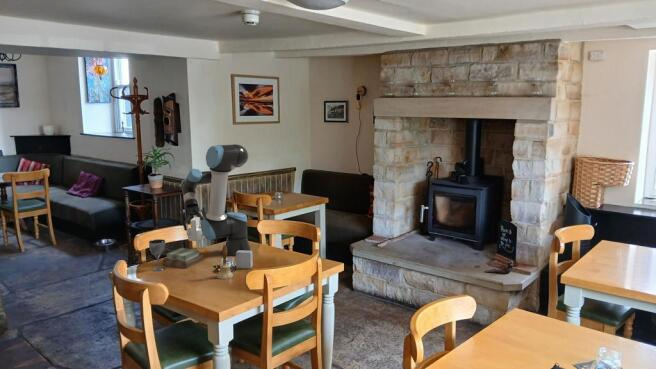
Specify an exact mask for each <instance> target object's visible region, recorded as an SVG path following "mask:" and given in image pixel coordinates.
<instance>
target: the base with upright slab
mask: <svg viewBox="0 0 656 369" xmlns="http://www.w3.org/2000/svg"><path fill="white" fill-rule="evenodd" d="M188 230H189V236H187V240H188V241H189V242H200V241H204V240H205V237H204V235H203V233H202V230H201V220H200V217H197V216H194V217H193V218H191V219H190V227H188Z"/></svg>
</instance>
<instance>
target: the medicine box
mask: <svg viewBox="0 0 656 369" xmlns="http://www.w3.org/2000/svg"><path fill="white" fill-rule="evenodd" d="M253 258H254V256H253V250H251V251H243V250H238V251H237V252H236V256H235V265H236V266H235V268H236V269H249V270H250V269H252V267H253V266H254V264H253V263H254V261H253V260H254V259H253Z"/></svg>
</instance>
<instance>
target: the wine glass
mask: <svg viewBox="0 0 656 369" xmlns="http://www.w3.org/2000/svg"><path fill="white" fill-rule="evenodd" d="M148 246H149V250H150V253H151V254H152V255H153V256H154V257H155V259H156V262H157V266H156V267H153V268H152V269H151V271H152V272H162V271H164V270H166V267H165V266H160V258H161V256H162V255H163V254H164V252H165V249H166V240H165V239H163V238H162V239H161V238H160V239H152V240H149V242H148Z"/></svg>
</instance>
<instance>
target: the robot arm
mask: <svg viewBox="0 0 656 369" xmlns="http://www.w3.org/2000/svg"><path fill="white" fill-rule="evenodd" d="M248 159H249V152H248V150H247V149H246V148H245V147H244V146H243V145H240V144H217V145H212V146H210V147H209V148H207V151H206V154H205V161H206V162H205V163H206V166H207V167H208V168H209V170H206V171H205V170H204V171H201V170H200V169H199V168H198V169H197V168H192V169H191V170H190V171H189V172H188V174H187V176H186V178H184V179H183V180H182V181H180V182H181V183H180V185H181V186H180V187H181V191H182V197H183V202H184V208H185V209H182V208H181V209H180V222H179V225H180V226H182V227H183V230H184V231H186V235H187V237H188V236H189V230H188V229H189V225H188V221H189V218H190V217H192V216H194V217H200V227H201V230H202V233H203V235H204V239H207V240H216V239H222V238H223V239H224V238H226V241H225V245H226V248H227V256H235V257H236V252H237V251H238V250H243V251H252V250H251V249H252V248H251V246H250V242H249V240H248V217H247V215H246V214H245V213H243V212H233V211H231V212H225V211H226V203H227V202H226V199H227V191H228V190H227V189H228V180H229V179H228V178H229V173H231V172H233V170H235V169H236V168H240V167H242V166H244V165H245V164H246V163H247V162H248ZM205 184H206V185H208V184H210V193H209V203H208V204H209V205H208V212H206V211H205V207H202V208H200V207H199V203H198V202H199V201H198V197H197V192H196V189H197V187H198V185H205ZM200 212H201V213H200ZM185 213H186V217H185V220H184V214H185Z"/></svg>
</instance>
